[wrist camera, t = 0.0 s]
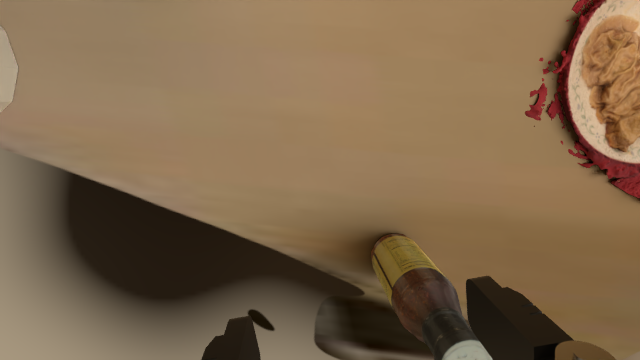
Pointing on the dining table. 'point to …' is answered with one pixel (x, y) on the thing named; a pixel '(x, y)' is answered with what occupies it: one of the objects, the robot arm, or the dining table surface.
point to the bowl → (6, 71)
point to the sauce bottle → (424, 299)
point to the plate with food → (602, 89)
